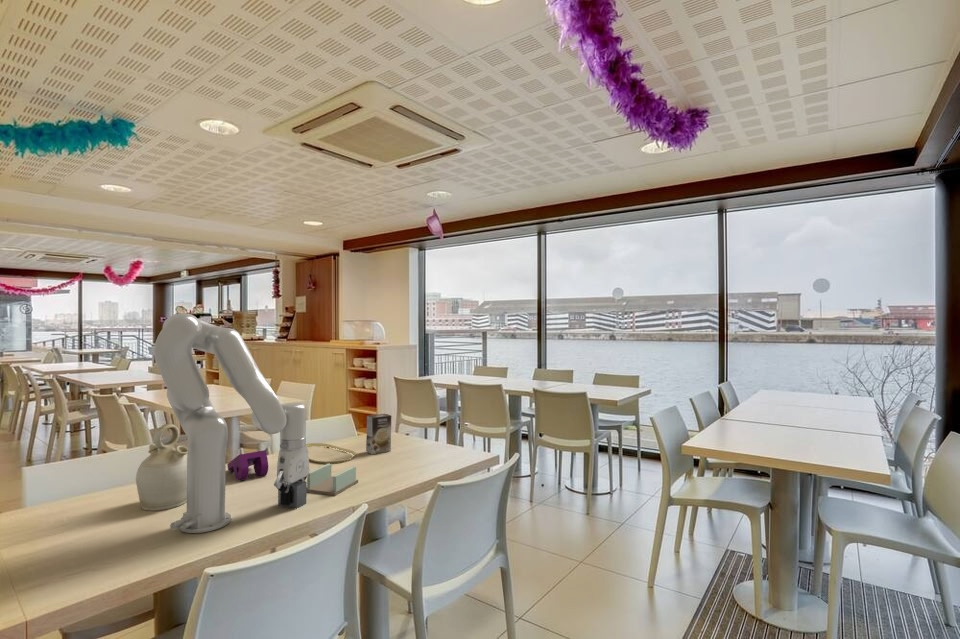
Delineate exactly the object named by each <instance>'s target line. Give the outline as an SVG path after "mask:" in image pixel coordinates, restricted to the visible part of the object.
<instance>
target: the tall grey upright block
mask: <svg viewBox="0 0 960 639" xmlns="http://www.w3.org/2000/svg"><path fill="white" fill-rule="evenodd" d="M284 486H285V487H286V484H284ZM306 488H307V481H306V480H305V481H296V482H294V483H291V484H290V488H289V492H290V505H288V506H287V505H281V504H280V492H279V490H278V489H277V490H278V491H277V507H281V506H282V508H287V507H288V508H287V509H294V508H296V509H295V510H298V509H300V508H301V507H303V506H305V505H306V504H307V492H306ZM297 508H298V509H297Z"/></svg>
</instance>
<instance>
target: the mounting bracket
mask: <svg viewBox="0 0 960 639" xmlns="http://www.w3.org/2000/svg"><path fill="white" fill-rule="evenodd" d="M226 466H227V471H233V473H234V477H235V479H236V480H237V482H238V481H244V480H247V479H248V477H249V467H251V466H253V470H254V474H255V475H256V476H257V477H263V476H267V475H268V472H269V460H268V454H267V449H264V450H263V449H262V450H258V451H252V452H251V451H250V452H247V453H241V454H238V455H237V456H236V457H234V458H233V459H232V460H230V461H229V462H228V463H227V464H226Z"/></svg>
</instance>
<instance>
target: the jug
mask: <svg viewBox="0 0 960 639" xmlns="http://www.w3.org/2000/svg"><path fill="white" fill-rule="evenodd" d="M169 429H170V430H171V433H172V435H171V438H170V440H169V441H168V442H167V443H165V444H163V443H162V436H163V435H164V432H166V431H167V430H169ZM179 438H180V430H179V428H178V426H176V424H173V423H166V424H162V425H161V426H160V427H158V429H156V431H155V433H154V436H153V443H151V444H150V445H149V447H148V448H149V450H148V453H149V456H147V457H146V458H145V459H143V460H142V461H141V463H140V464H139V466H138V469H137V471H136V476H135V483H136V484H135V485H136V491H137V494H138V500H139V503H140V505H141V509H142V510H145V511H151V512H152V511H153V512H154V511H155V512H156V511H157V512H158V511H163V510H164V511H165V510H170V509H174V508H177V506H178V507H181V506H182V505H184V504H187V454H188V446H185V445H177V446H176V447H175V445H176V444H177V443H178V441H179Z"/></svg>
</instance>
